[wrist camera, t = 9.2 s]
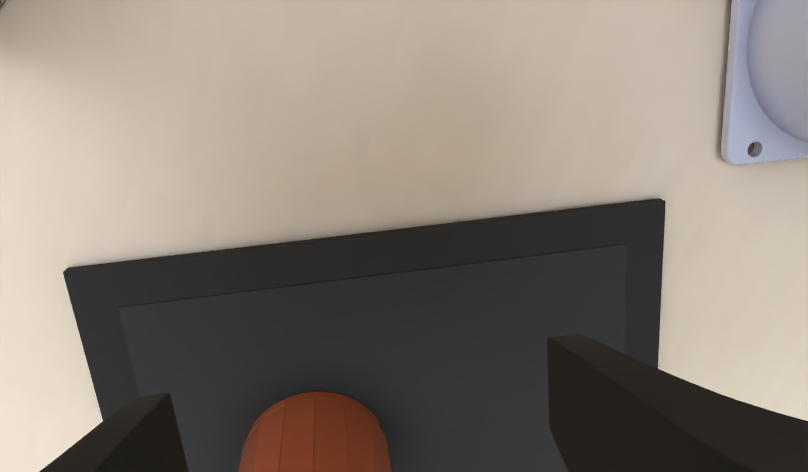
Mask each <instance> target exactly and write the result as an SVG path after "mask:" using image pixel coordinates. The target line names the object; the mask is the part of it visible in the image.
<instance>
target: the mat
mask: <svg viewBox="0 0 808 472" xmlns="http://www.w3.org/2000/svg"><path fill="white" fill-rule="evenodd" d="M664 221H665V201H664V200H662V199H651V200H643V201H634V202H626V203H617V204H609V205H600V206H592V207H583V208H575V209H566V210H558V211H549V212H541V213H532V214H524V215H515V216H507V217H498V218H490V219H481V220H473V221H464V222H456V223H447V224H439V225H430V226H422V227H413V228H405V229H396V230H388V231H379V232H371V233H362V234H354V235H345V236H337V237H328V238H320V239H311V240H303V241H294V242H286V243H277V244H269V245H260V246H251V247H243V248H234V249H226V250H217V251H209V252H200V253H192V254H183V255H175V256H166V257H158V258H149V259H141V260H132V261H124V262H115V263H107V264H98V265H90V266H81V267H73V268H67V269H66V270H65V271H64V272H63V274H64V278H65V282H66V285H67V289H68V293H69V296H70V300H71V304H72V307H73V311H74V315H75V318H76V322H77V326H78V330H79V333H80V337H81V341H82V344H83V348H84V352H85V355H86V359H87V363H88V366H89V370H90V374H91V377H92V381H93V385H94V389H95V392H96V396H97V400H98V403H99V407H100V411H101V414H102V418H103V421H104V420H105V419H107V418H108V417H109V416H111V415H112V414H113V413H114V412H116V411H117V410H118V409H120V408H121V407H122V406H124V405H125V404H126V403H128V402H129V401H131V400H133V399H134V398H136V397H141V396H148V395H155V394H162V393H169V392H170V395H171V399H172V404H173V408H174V412H175V416H176V420H177V424H178V429H179V433H180V437H181V441H182V445H183V449H184V454H185V458H186V462H187V466H188V470H189V472H238V470H239V466H240V461H241V456H242V451H243V446H244V443H245V440H246V437H247V435H248V432H249V430H250V429H251V427H252V425H253V424H254V422H255V421H256V420H257V419H258V418H259V416H260V415H261V414H263V413H264V412H265V411H266V410H267V409H268V408H270V407H271V406H272V405H274V404H275V403H277V402H279V401H281V400H283V399H285V398H288V397H290V396H293V395H297V394H300V393H306V392H318V391H322V392H332V393H337V394H341V395H344V396H347V397H350V398H352V399H354V400H356V401H358V402H359V403H361V404H363V405H364V406H365V407H367V408H368V409H369V410H370V411H371V412H372V413H373V414H374V415H375V416H376V417H377V419H378V420H379V422H380V423H381V425H382V427H383V429H384V432H385V435H386V438H387V443H388V449H389V454H390V459H391V466H392V472H568V470H567V468H566V465H565V463H564V461H563V459H562V457H561V454H560V452H559V450H558V447H557V445H556V443H555V440H554V438H553V435H552V433H551V431H550V428H549V397H548V356H547V338H549V337H555V336H562V335H569V334H576V333H578V334H581V335H584V336H586V337H589V338H591V339H594V340H596V341H598V342H601V343H603V344H605V345H607V346H609V347H612V348H614V349H616V350H618V351H620V352H622V353H624V354H627V355H629V356H631V357H633V358H635V359H637V360H640V361H642V362H644V363H646V364H648V365H650V366H653V367H655V368H657V369H658V350H659V329H660V307H661V286H662V264H663V242H664Z"/></svg>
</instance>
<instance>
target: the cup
mask: <svg viewBox="0 0 808 472" xmlns="http://www.w3.org/2000/svg"><path fill="white" fill-rule="evenodd" d="M238 472H392V466H391V459H390V454H389V449H388V443H387V438H386V435H385V432H384V429H383V427H382V425H381V423H380V422H379V420H378V419H377V417H376V416H375V415H374V414H373V413H372V412H371V411H370V410H369V409H368V408H367V407H365V406H364V405H363V404H361V403H359V402H358V401H356V400H354V399H352V398H350V397H347V396H344V395H341V394H337V393H332V392H322V391H318V392H306V393H300V394H297V395H293V396H290V397H288V398H285V399H283V400H281V401H279V402H277V403H275V404H274V405H272V406H271V407H270V408H268V409H267V410H266V411H265V412H264V413H263V414H261V415H260V416H259V418H258V419H257V420H256V421H255V422H254V424H253V425H252V427H251V429H250V430H249V432H248V435H247V437H246V440H245V443H244V446H243V451H242V456H241V461H240V466H239V470H238Z"/></svg>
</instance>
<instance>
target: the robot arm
mask: <svg viewBox="0 0 808 472" xmlns="http://www.w3.org/2000/svg"><path fill="white" fill-rule="evenodd" d="M751 143H754V149H753V151H752V152H751V154H748V147H749V145H750V144H751ZM721 156H722V158H723V160H724V161H725V162H727V163H729V164H733V165H745V164H754V163H763V162H772V161H781V160H789V159H798V158H807V157H808V0H732V4H731V18H730V32H729V46H728V59H727V73H726V87H725V101H724V114H723V128H722V142H721ZM547 356H548V397H549V428H550V431H551V433H552V435H553V438H554V440H555V443H556V445H557V447H558V450H559V452H560V454H561V457H562V459H563V461H564V463H565V465H566V468H567V470H568V472H808V421H805V420H801V419H797V418H794V417H790V416H786V415H783V414H779V413H776V412H773V411H770V410H766V409H763V408H760V407H757V406H754V405H751V404H747V403H744V402H741V401H738V400H735V399H732V398H729V397H727V396H724V395H721V394H718V393H716V392H713V391H710V390H708V389H705V388H703V387H700V386H698V385H695V384H693V383H690V382H687V381H685V380H683V379H680V378H678V377H676V376H673V375H671V374H668V373H666V372H664V371H662V370H659V369H657V368H655V367H653V366H650V365H648V364H646V363H644V362H642V361H640V360H637V359H635V358H633V357H631V356H629V355H627V354H624V353H622V352H620V351H618V350H616V349H614V348H612V347H609V346H607V345H605V344H603V343H601V342H598V341H596V340H594V339H591V338H589V337H586V336H584V335H581V334H578V333H576V334H569V335H562V336H555V337H549V338H547ZM40 472H189V470H188V466H187V462H186V458H185V454H184V449H183V445H182V441H181V437H180V433H179V429H178V424H177V420H176V416H175V412H174V408H173V404H172V399H171V395H170V392H169V393H162V394H155V395H148V396H141V397H136V398H134V399H133V400H131V401H129V402H128V403H126V404H125V405H124V406H122V407H121V408H120V409H118V410H117V411H116V412H114V413H113V414H112V415H111V416H109V417H108V418H107V419H105V420H104V421H103V422H102V423H100V424H99V425H98V426H97V427H95V428H94V429H93V430H92V431H91V432H89V433H88V434H87V435H86V436H84V437H83V438H82V439H81V440H79V441H78V442H77V443H75V444H74V445H73V446H72V447H70V448H69V449H68V450H67V451H65V452H64V453H63V454H62V455H60V456H59V457H58V458H57V459H55V460H54V461H53V462H52V463H50V464H49V465H48V466H46V467H45V468H44V469H42V470H41V471H40Z"/></svg>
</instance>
